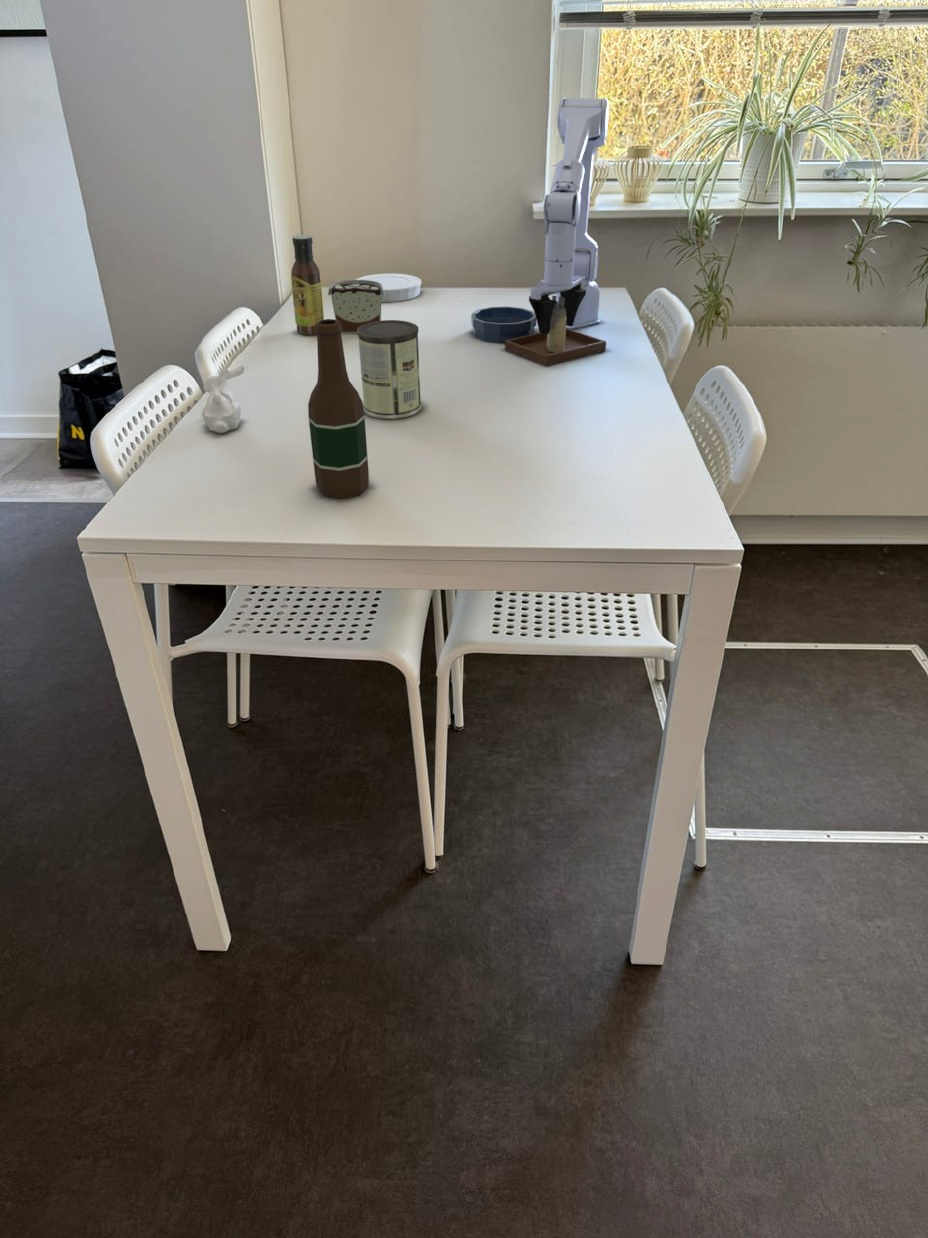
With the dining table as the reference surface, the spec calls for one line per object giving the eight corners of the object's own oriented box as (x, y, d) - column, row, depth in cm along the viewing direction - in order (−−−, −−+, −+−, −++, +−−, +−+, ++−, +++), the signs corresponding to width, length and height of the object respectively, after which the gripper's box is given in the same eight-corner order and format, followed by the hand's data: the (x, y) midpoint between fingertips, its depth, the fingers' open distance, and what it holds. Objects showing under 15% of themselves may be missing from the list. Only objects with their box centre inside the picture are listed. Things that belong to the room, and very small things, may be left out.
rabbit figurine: (208, 412, 156) (199, 357, 151) (252, 409, 157) (244, 355, 152) (203, 438, 146) (192, 380, 141) (250, 435, 147) (241, 378, 142)
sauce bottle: (292, 330, 197) (281, 234, 186) (317, 326, 200) (308, 231, 189) (304, 337, 193) (293, 240, 182) (330, 333, 196) (321, 236, 185)
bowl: (508, 321, 203) (508, 303, 200) (548, 335, 193) (548, 316, 191) (459, 331, 196) (459, 313, 194) (498, 346, 187) (498, 327, 184)
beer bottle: (317, 477, 133) (300, 314, 120) (369, 475, 134) (358, 312, 120) (314, 500, 127) (296, 330, 113) (369, 498, 127) (357, 328, 114)
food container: (391, 325, 200) (388, 279, 195) (386, 333, 195) (383, 286, 190) (337, 324, 201) (333, 278, 196) (331, 332, 196) (327, 285, 191)
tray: (563, 336, 193) (563, 326, 192) (605, 350, 184) (606, 341, 183) (504, 349, 185) (504, 340, 184) (546, 366, 176) (546, 356, 175)
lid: (330, 295, 223) (329, 282, 221) (392, 281, 234) (392, 270, 233) (373, 308, 212) (372, 295, 211) (435, 293, 224) (435, 281, 222)
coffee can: (377, 395, 162) (372, 317, 155) (429, 402, 160) (427, 322, 152) (353, 415, 154) (346, 333, 146) (408, 422, 152) (404, 339, 144)
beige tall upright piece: (565, 353, 181) (568, 302, 175) (547, 353, 181) (549, 303, 175) (562, 342, 187) (564, 293, 181) (544, 343, 187) (546, 293, 181)
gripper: (567, 250, 181) (563, 318, 188) (519, 261, 172) (517, 332, 180) (594, 255, 177) (589, 324, 184) (547, 267, 168) (544, 339, 176)
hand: (556, 329), depth 182 cm, fingers open, 7 cm apart
